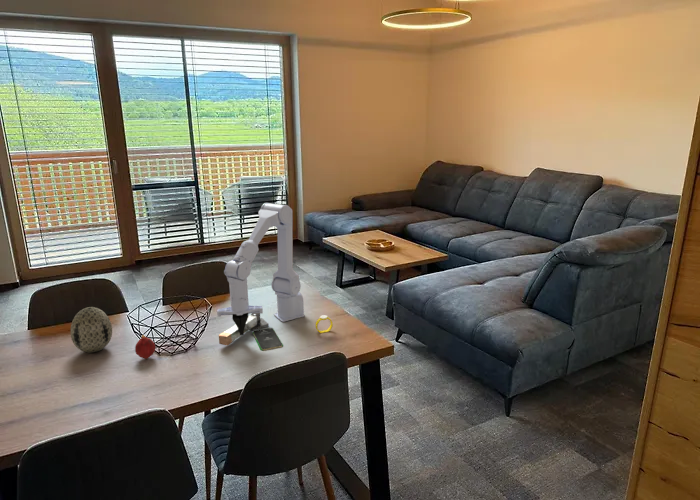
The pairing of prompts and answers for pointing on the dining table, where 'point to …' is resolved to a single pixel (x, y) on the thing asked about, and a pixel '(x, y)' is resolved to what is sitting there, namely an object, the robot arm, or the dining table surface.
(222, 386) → the dining table surface
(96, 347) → the decorative egg
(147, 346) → the onion
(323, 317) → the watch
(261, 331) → the smartphone
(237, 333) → the swing bar
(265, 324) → the pivot plate
